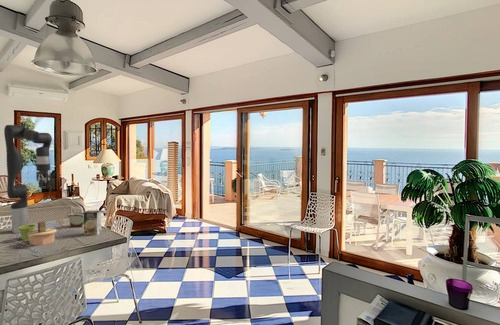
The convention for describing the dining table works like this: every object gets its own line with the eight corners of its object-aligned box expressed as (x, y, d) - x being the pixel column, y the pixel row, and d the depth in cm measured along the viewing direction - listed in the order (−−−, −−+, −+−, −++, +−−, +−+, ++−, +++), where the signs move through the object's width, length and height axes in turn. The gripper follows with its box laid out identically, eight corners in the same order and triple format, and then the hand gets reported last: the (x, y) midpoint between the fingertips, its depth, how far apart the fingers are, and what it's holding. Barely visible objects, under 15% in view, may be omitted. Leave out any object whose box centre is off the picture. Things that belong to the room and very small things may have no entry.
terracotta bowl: (26, 244, 182) (26, 234, 182) (48, 238, 193) (47, 229, 192) (36, 247, 176) (35, 237, 176) (57, 241, 186) (57, 232, 186)
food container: (89, 225, 224) (88, 212, 224) (84, 227, 218) (83, 214, 218) (74, 225, 226) (73, 212, 225) (68, 227, 219) (68, 214, 219)
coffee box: (83, 236, 198) (82, 212, 197) (88, 233, 204) (87, 210, 203) (97, 235, 198) (96, 212, 197) (101, 233, 205) (101, 210, 204)
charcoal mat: (45, 236, 197) (45, 235, 197) (71, 230, 212) (71, 229, 212) (59, 240, 189) (58, 239, 188) (85, 233, 203) (85, 232, 203)
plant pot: (22, 242, 185) (22, 229, 185) (16, 240, 190) (15, 227, 190) (39, 238, 193) (39, 225, 193) (33, 236, 198) (32, 223, 198)
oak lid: (22, 234, 181) (21, 223, 181) (48, 228, 194) (48, 218, 194) (34, 238, 174) (33, 226, 173) (61, 232, 187) (60, 221, 186)
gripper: (31, 163, 193) (32, 187, 194) (42, 163, 186) (43, 189, 187) (44, 162, 200) (45, 186, 201) (55, 163, 192) (56, 187, 193)
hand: (44, 187), depth 194 cm, fingers open, 8 cm apart
